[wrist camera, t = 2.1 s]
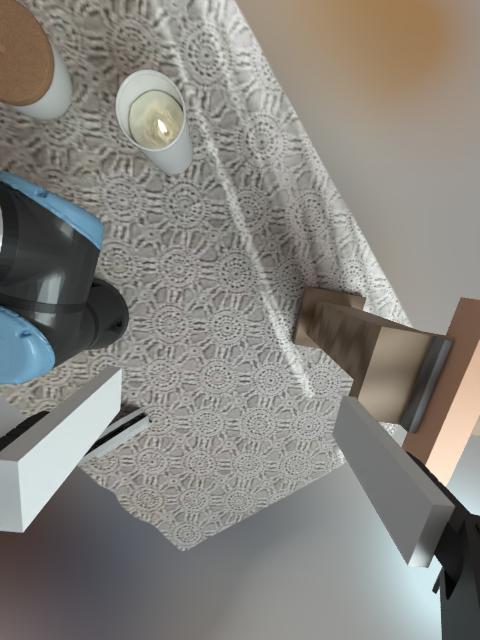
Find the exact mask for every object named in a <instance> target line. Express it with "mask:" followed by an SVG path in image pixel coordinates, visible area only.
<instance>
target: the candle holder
mask: <svg viewBox="0 0 480 640" xmlns="http://www.w3.org/2000/svg"><path fill="white" fill-rule="evenodd" d="M115 108H116V116H117V120H118V123H119V125H120V128H121V130H122V131H123V133H124V134H125V136H126V137H127V138H128V139H129V140H130V141H131V142H132V143H133V144H134V145H135V146H136V147H137V148H138V149H139V150H140V151H141V152H142V153H143V154H144V155H145V156H146V157H147V158H148V159H149V160H150V161H151V162H152V163H153V164H154V165H155V166H156V167H157V168H158V169H159V170H161V171H162V172H164V173H166V174H170V175H177V174H180V173H182V172H184V171H185V170H186V169H187V168H188V167H189V166H190V164H191V162H192V159H193V153H194V150H193V143H192V138H191V133H190V129H189V124H188V120H187V115H186V109H185V104H184V100H183V97H182V95H181V93H180V91H179V89H178V88H177V86H176V85H175V84H174V82H173V81H172V80H171V79H170V78H168V77H167V76H166V75H164V74H162V73H160V72H158V71H155V70H148V69H146V70H139V71H136V72H134V73H132V74H131V75H129V76H128V77H127V78H126V79H125V80H124V81H123V82H122V84H121V86H120V88H119V90H118V93H117V96H116V104H115Z"/></svg>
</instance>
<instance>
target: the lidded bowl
mask: <svg viewBox="0 0 480 640" xmlns="http://www.w3.org/2000/svg"><path fill="white" fill-rule="evenodd" d="M0 101H1V102H2V103H4V104H5V105H7V106H8V107H10V108H12V109H14V110H15V111H17V112H19V113H21V114H23V115H25V116H28V117H31V118H33V119H38V120H54V119H57V118H59V117H61V116H62V115H64V114H65V113H66V112H67V111H68V109H69V107H70V105H71V101H72V83H71V78H70V75H69V72H68V69H67V66H66V64H65V62H64V60H63V58H62V57H61V55H60V53H59V51H58V50H57V48H56V46H55V45H54V43H53V42H52V41H51V39H50V38H49V37H48V35H47V34H46V33H45V31H44V30H43V28H42V27H41V25H40V24H39V23H38V21H37V20H36V19H35V17H34V16H33V15H32V14H31V13H30V12H29V11H28V10H27V9H26V8H25V7H24V6H23V5H22V4H20V3H19V2H17V1H16V0H0Z"/></svg>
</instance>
